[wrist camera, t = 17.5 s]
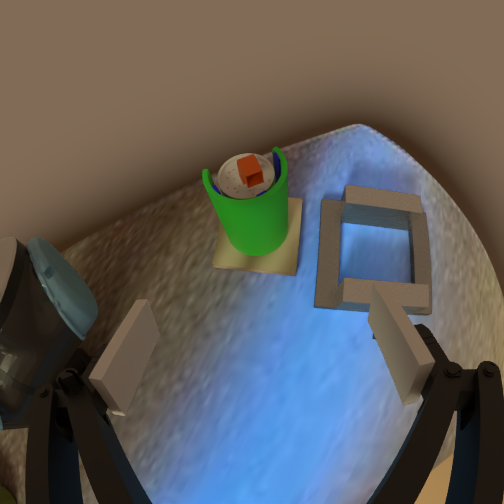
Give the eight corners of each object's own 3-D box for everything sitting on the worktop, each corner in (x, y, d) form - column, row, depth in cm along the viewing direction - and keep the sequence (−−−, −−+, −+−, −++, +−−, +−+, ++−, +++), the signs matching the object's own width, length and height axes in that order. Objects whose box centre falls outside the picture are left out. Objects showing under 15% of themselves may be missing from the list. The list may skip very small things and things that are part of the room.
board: (214, 267, 43) (211, 264, 41) (228, 197, 47) (226, 193, 45) (295, 276, 41) (295, 273, 39) (302, 203, 45) (302, 198, 43)
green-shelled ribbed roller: (270, 195, 44) (260, 108, 27) (300, 234, 41) (308, 153, 25) (219, 225, 43) (183, 147, 26) (247, 268, 40) (220, 202, 24)
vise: (310, 336, 37) (315, 332, 32) (320, 203, 44) (324, 182, 39) (426, 341, 35) (446, 338, 29) (422, 216, 42) (436, 198, 36)
